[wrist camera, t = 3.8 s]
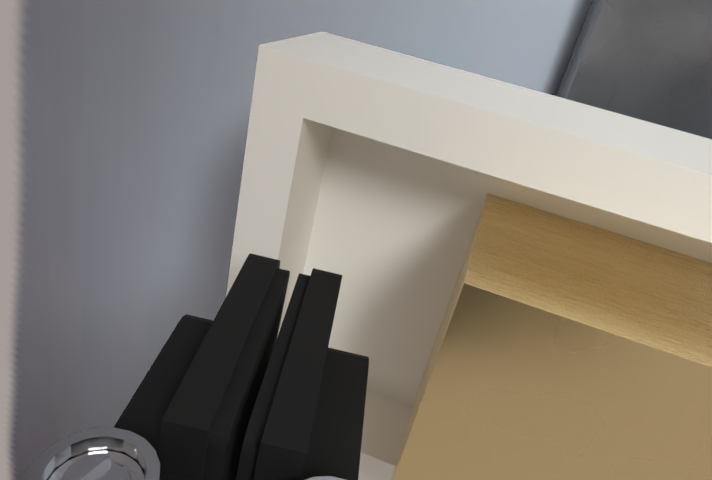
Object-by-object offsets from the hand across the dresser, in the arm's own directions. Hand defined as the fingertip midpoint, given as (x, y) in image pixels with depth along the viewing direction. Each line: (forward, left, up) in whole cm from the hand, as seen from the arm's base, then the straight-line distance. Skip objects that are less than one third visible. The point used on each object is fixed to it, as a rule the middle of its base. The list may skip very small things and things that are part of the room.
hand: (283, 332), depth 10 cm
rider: (0, +6, -2) cm, 6 cm away
